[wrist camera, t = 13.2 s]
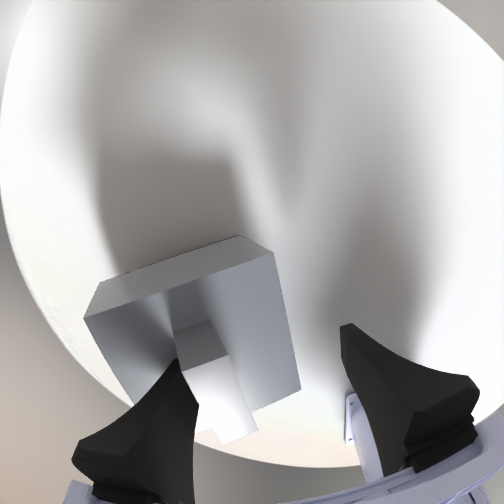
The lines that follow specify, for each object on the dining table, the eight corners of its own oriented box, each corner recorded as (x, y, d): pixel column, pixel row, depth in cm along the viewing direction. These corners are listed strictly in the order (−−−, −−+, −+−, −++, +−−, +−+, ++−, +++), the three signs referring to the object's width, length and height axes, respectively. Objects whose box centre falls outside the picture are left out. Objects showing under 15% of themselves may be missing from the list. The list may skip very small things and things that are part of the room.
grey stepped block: (269, 350, 20) (327, 419, 13) (156, 392, 17) (171, 480, 10) (239, 235, 17) (308, 270, 10) (99, 282, 15) (68, 355, 7)
